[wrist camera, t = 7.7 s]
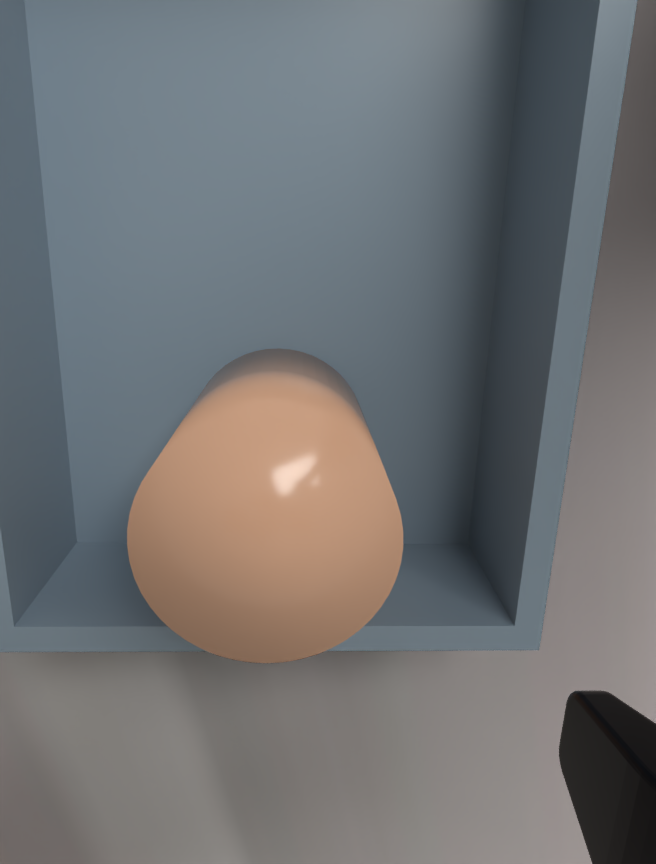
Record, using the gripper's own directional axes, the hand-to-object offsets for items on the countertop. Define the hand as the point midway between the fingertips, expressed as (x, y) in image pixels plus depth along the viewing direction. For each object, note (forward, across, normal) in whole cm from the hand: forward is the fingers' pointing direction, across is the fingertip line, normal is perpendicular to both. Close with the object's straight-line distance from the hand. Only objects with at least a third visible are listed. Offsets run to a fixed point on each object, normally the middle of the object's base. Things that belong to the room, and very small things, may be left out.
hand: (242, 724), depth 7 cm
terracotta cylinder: (+11, 0, 0) cm, 11 cm away
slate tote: (+12, 0, -6) cm, 13 cm away
